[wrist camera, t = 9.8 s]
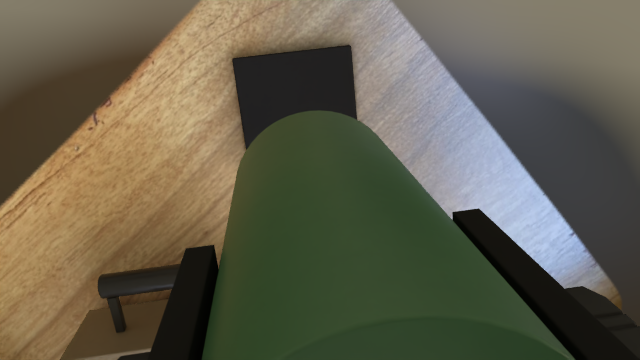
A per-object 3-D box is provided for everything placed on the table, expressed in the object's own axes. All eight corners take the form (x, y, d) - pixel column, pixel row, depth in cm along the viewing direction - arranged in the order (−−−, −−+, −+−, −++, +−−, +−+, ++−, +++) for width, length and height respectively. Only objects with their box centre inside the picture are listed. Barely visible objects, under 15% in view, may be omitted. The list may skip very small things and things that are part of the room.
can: (391, 100, 20) (642, 280, 7) (400, 251, 22) (602, 617, 9) (222, 121, 19) (124, 358, 6) (248, 272, 22) (217, 690, 8)
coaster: (349, 45, 34) (351, 45, 34) (358, 157, 37) (360, 158, 37) (232, 58, 34) (232, 58, 34) (249, 170, 37) (249, 172, 36)
